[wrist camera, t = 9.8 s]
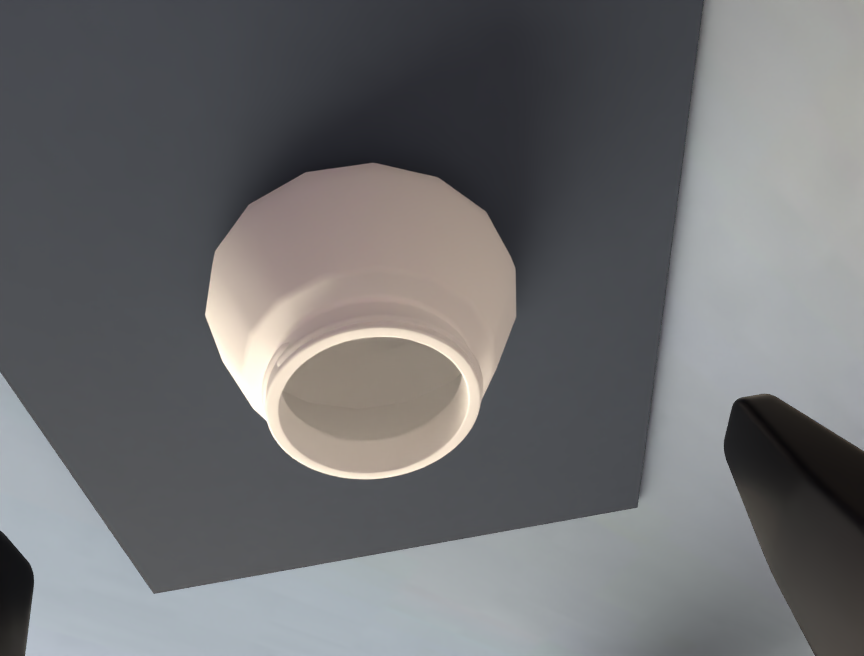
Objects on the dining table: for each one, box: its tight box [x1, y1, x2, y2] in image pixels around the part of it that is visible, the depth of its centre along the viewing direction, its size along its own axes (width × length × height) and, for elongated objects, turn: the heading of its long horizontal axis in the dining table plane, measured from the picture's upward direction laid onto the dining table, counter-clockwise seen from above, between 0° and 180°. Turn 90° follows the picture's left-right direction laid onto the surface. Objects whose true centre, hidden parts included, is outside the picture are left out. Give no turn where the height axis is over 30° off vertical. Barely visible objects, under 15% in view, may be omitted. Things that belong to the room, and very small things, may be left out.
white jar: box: [205, 163, 516, 479], centre depth 11 cm, size 5×3×5 cm
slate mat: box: [0, 0, 704, 594], centre depth 12 cm, size 16×12×1 cm
